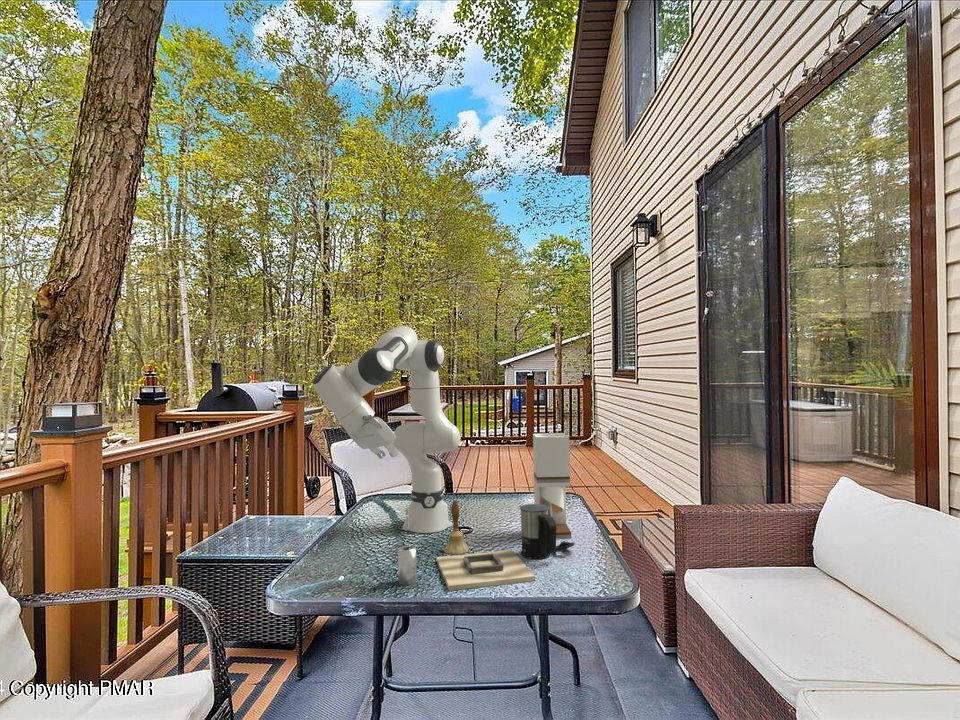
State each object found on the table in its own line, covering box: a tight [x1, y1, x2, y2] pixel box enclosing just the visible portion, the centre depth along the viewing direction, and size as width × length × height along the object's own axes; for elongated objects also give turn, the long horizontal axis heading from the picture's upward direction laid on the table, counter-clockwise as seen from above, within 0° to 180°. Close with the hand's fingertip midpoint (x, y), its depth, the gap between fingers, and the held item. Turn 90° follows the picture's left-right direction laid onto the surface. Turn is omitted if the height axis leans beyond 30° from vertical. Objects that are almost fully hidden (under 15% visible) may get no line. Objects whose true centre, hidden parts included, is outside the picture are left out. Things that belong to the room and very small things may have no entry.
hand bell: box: [443, 500, 470, 556], centre depth 162 cm, size 8×8×16 cm
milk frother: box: [519, 503, 576, 560], centre depth 158 cm, size 14×16×15 cm
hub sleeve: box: [397, 545, 418, 586], centre depth 137 cm, size 5×5×9 cm
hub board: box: [436, 549, 536, 591], centre depth 144 cm, size 22×24×3 cm
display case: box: [532, 432, 572, 539], centre depth 178 cm, size 11×11×35 cm
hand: (389, 456), depth 138 cm, fingers open, 8 cm apart
